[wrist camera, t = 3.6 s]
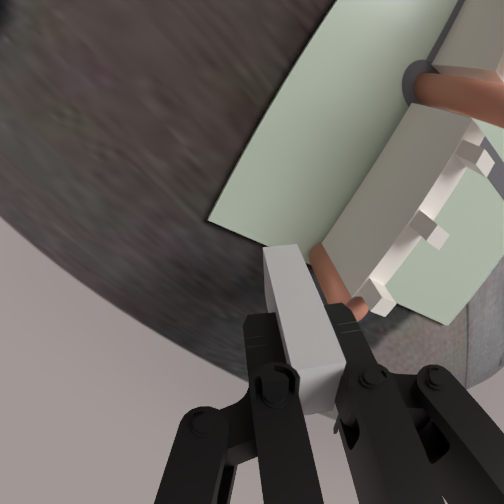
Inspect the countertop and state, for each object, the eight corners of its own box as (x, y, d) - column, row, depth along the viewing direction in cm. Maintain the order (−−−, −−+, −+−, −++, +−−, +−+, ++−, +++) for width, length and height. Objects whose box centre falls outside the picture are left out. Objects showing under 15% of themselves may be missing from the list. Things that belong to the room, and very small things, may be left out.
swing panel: (408, 99, 14) (491, 121, 8) (428, 118, 14) (509, 148, 9) (302, 261, 18) (335, 340, 13) (326, 272, 19) (363, 348, 13)
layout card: (208, 217, 17) (207, 220, 17) (395, -80, 7) (398, -82, 7) (445, 323, 25) (447, 326, 24) (561, 136, 15) (565, 137, 15)
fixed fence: (404, 90, 14) (510, 115, 7) (466, -23, 9) (554, -31, 2) (426, 111, 15) (528, 147, 8) (484, -3, 10) (571, -2, 3)
